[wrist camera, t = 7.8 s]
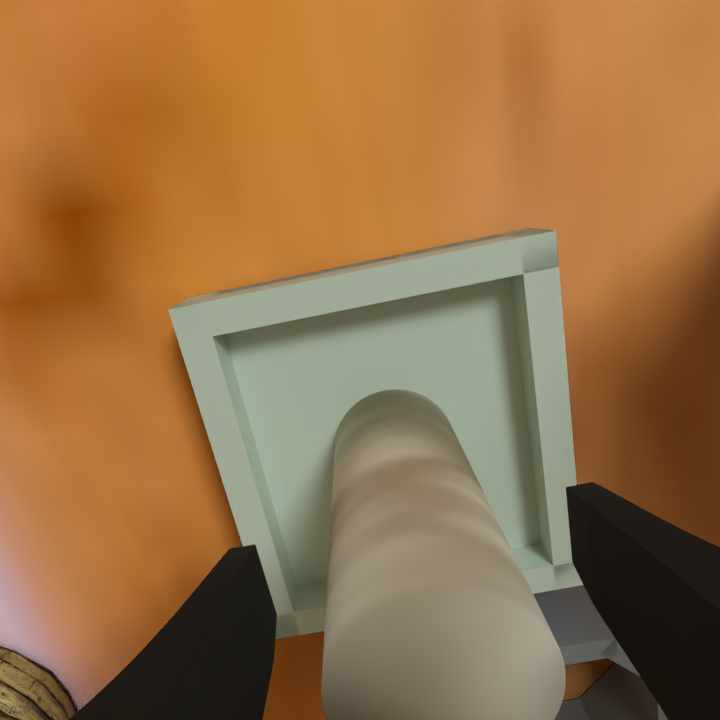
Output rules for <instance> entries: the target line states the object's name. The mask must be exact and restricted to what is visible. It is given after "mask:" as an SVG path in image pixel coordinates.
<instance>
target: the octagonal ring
mask: <svg viewBox="0 0 720 720" xmlns="http://www.w3.org/2000/svg"><path fill="white" fill-rule="evenodd" d="M533 595H534V597H535V599H536V601H537V603H538V605H539V607H540V609H541V611H542V613H543V615H544V617H545V619H546V621H547V624H548V626H549V628H550V630H551V632H552V634H553V636H554V638H555V640H556V642H557V644H558V646H559V648H560V651H561V654H562V657H563V659H564V665H570V664H576V663H581V662H587V661H593V660H599V659H605V658H608V659H610V660H612V661H614V662H615V664H614V665H613V666H612V667H611V668H610V669H609V670H608V671H607V672H606V673H605V674H604V675H603V676H602V677H601V678H600V679H599V680H598V681H597V682H596V683H595V684H593V685H592V686H591V687H590V688H589V689H588V690H587V691H586V692H585V693H584V694H583V695H582V696H581V697H580V698H578V699H572V700H566V701H562V704H561V707H560V709H559V711H558V713H557V715H556V717H555V719H554V720H668V719H667V717H666V716H665V714H664V712H663V711H662V709H661V707H660V706H659V704H658V703H657V701H656V699H655V698H654V696H653V695H652V693H651V692H650V690H649V689H648V687H647V686H646V684H645V683H644V681H643V680H642V678H641V677H640V675H639V674H638V672H637V671H636V669H635V668H634V666H633V665H632V663H631V661H630V660H629V658H628V657H627V655H626V654H625V652H624V651H623V649H622V648H621V646H620V645H619V643H618V642H617V640H616V639H615V637H614V636H613V634H612V633H611V631H610V629H609V628H608V626H607V625H606V623H605V622H604V620H603V619H602V617H601V616H600V614H599V612H598V611H597V609H596V608H595V606H594V605H593V603H592V601H591V599H590V597H589V595H588V593H587V591H586V589H585V587H584V585H580V586H574V587H569V588H563V589H557V590H552V591H546V592H541V593H535V594H533Z"/></svg>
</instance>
